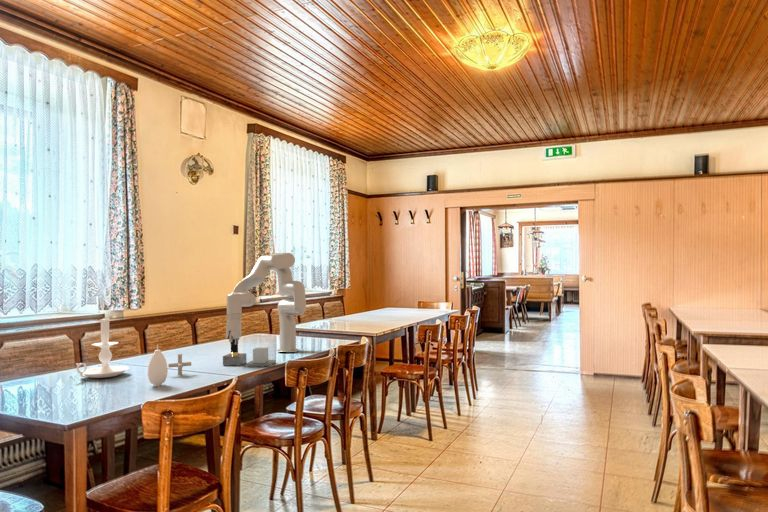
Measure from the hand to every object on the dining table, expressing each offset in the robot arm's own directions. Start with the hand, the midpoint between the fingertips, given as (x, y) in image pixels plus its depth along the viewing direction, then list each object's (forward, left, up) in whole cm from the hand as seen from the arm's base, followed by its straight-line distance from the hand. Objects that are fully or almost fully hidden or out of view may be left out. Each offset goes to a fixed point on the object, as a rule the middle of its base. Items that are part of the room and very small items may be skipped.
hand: (234, 352), depth 272 cm
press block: (0, 0, -6) cm, 6 cm away
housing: (+1, +15, -5) cm, 15 cm away
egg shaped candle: (+51, -12, -7) cm, 53 cm away
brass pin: (0, 0, -5) cm, 5 cm away
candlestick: (+35, -50, -7) cm, 62 cm away
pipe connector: (+29, -14, -7) cm, 33 cm away
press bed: (+1, +15, -6) cm, 16 cm away
